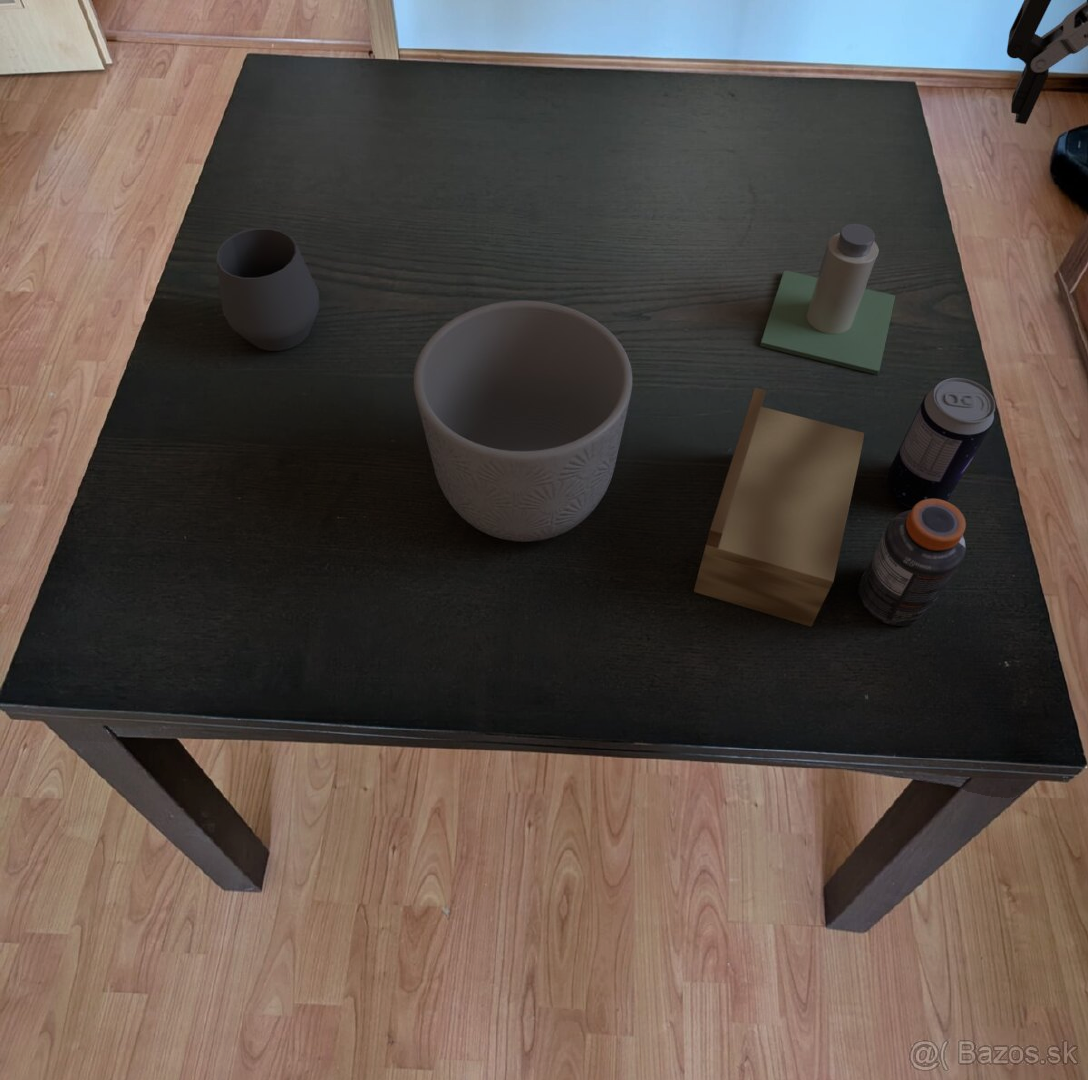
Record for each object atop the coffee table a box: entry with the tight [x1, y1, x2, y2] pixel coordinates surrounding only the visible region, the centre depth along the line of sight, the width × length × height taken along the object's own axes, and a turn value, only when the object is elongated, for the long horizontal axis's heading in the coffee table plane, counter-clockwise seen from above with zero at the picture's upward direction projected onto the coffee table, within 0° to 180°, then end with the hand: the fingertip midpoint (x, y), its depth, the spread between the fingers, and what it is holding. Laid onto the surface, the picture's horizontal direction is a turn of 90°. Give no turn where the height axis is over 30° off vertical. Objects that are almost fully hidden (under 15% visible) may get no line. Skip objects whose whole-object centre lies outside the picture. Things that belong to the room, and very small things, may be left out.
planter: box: [413, 299, 633, 542], centre depth 79 cm, size 17×17×15 cm
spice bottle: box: [806, 223, 880, 334], centre depth 93 cm, size 5×5×10 cm
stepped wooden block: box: [693, 387, 866, 628], centre depth 79 cm, size 10×16×9 cm, turn 160°
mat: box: [759, 270, 896, 376], centre depth 98 cm, size 12×12×1 cm
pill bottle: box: [858, 499, 967, 627], centre depth 74 cm, size 6×6×11 cm
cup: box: [215, 227, 320, 352], centre depth 92 cm, size 10×9×10 cm
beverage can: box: [885, 377, 996, 509], centre depth 80 cm, size 6×6×12 cm
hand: (1083, 129), depth 66 cm, fingers open, 8 cm apart
